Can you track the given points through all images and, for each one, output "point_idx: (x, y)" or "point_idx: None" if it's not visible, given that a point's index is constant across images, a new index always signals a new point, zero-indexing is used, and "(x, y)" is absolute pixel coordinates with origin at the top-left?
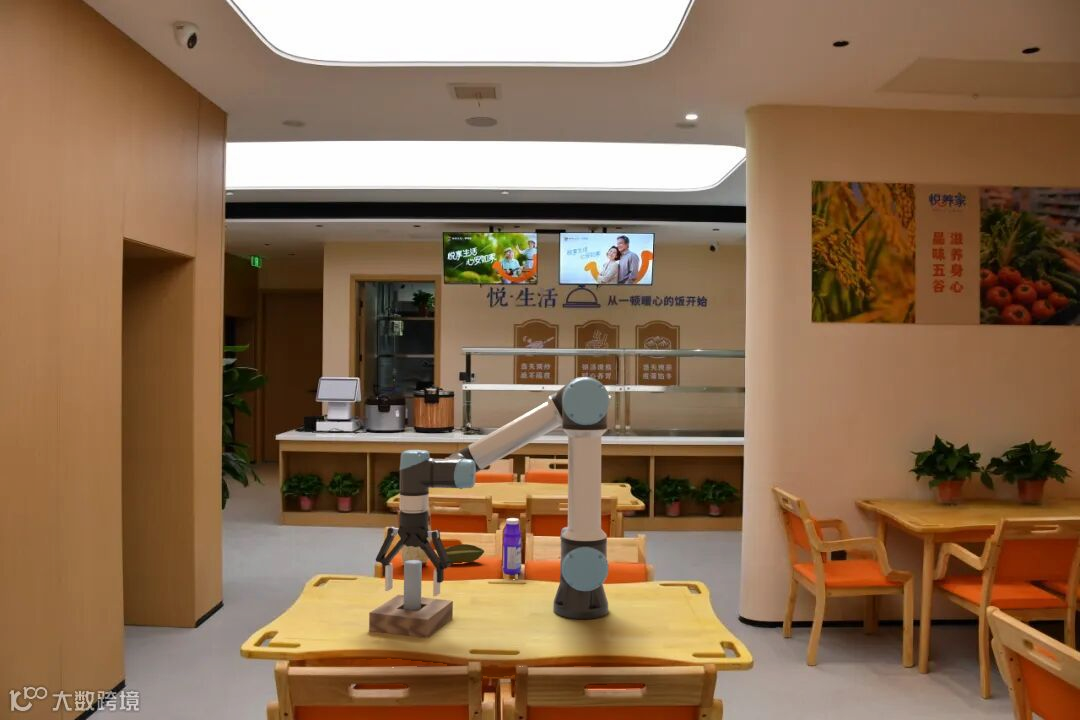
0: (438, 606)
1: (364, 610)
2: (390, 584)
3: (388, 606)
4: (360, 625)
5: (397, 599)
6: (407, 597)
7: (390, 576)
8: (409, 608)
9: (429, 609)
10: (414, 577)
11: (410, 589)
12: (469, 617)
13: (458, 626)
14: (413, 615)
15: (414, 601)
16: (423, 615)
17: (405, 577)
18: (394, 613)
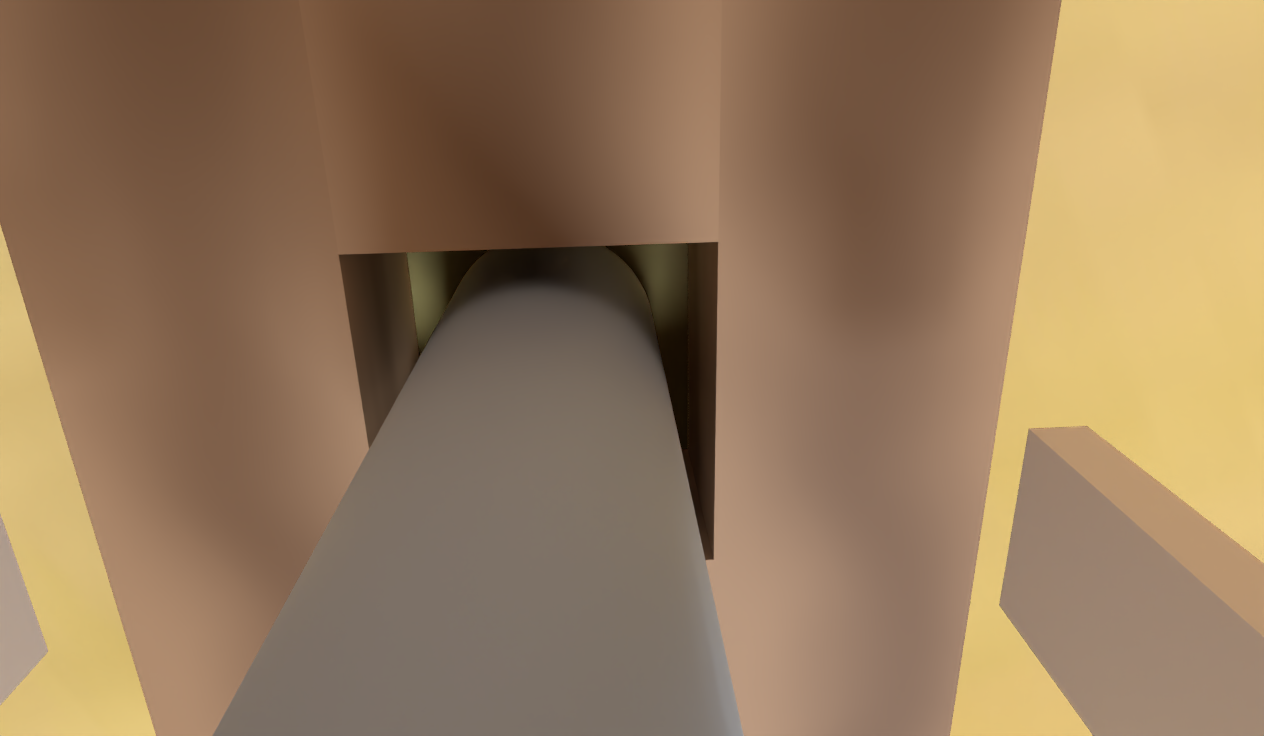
0: (195, 551)
1: (1232, 521)
2: (1062, 595)
3: (885, 297)
4: (1125, 66)
5: (883, 601)
6: (542, 358)
7: (1181, 725)
8: (512, 297)
9: (226, 393)
10: (270, 674)
11: (455, 435)
12: (109, 704)
13: (29, 447)
14: (274, 23)
15: (421, 366)
16: (124, 94)
17: (614, 627)
18: (636, 2)
